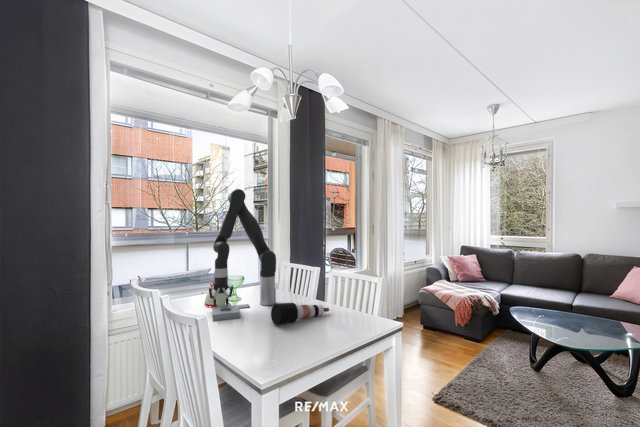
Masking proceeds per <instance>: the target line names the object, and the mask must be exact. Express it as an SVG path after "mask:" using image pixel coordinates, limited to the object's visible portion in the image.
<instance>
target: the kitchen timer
mask: <svg viewBox="0 0 640 427" xmlns="http://www.w3.org/2000/svg"><path fill="white" fill-rule="evenodd" d="M209 285H210V288H212V287H214V281H212V283H210V284H209ZM211 292H212V296H214V295H215V292H216V291H215V290H214V289H213V291H211ZM225 303H226V296H225ZM205 305H206V306H211V307H210V308H212V307H217V297H216V306H215V305H214V299H212V298H210V294H209V290H208V291H207V292H206V295H205V298H204V306H205ZM206 306H205V307H206Z"/></svg>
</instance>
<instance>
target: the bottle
mask: <svg viewBox="0 0 640 427" xmlns="http://www.w3.org/2000/svg"><path fill="white" fill-rule="evenodd" d="M271 306H272V307H271V311H270V318H271V321H272V323H273V325H277V326H278V325H286V324H293V323H296V322H297V320H304V319H309V318H317V317H322V316H324V313H327V312H329V311H330V308H329V307H324V305H322V304H298V305H297V304H296V303H295V302H284V303H281V302H280V303H276V304H273V305H271Z"/></svg>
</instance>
